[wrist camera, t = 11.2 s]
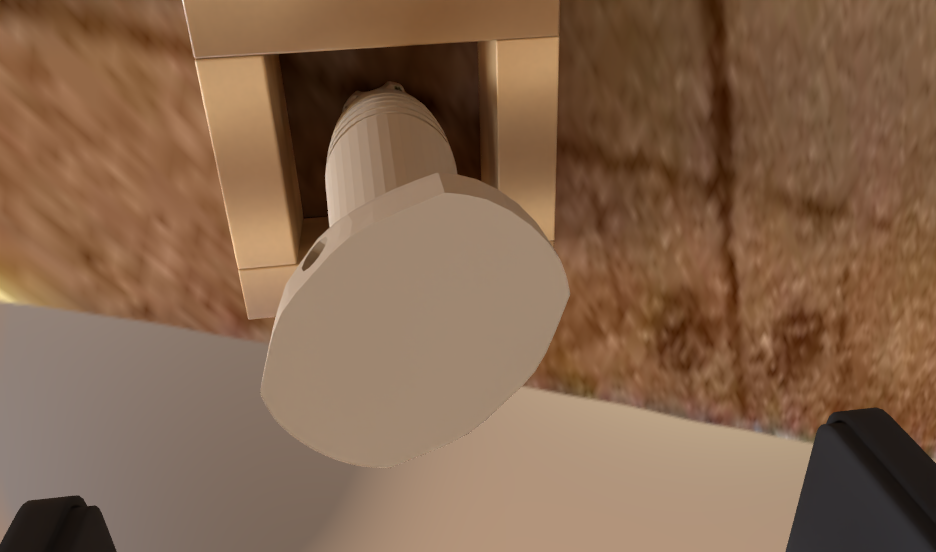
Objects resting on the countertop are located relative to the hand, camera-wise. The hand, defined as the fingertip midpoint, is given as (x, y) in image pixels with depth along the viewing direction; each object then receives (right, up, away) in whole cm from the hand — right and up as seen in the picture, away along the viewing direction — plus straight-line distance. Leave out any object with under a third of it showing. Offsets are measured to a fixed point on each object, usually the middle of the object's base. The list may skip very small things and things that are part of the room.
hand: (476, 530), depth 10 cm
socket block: (-3, +9, +18) cm, 20 cm away
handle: (-3, +9, +18) cm, 20 cm away
